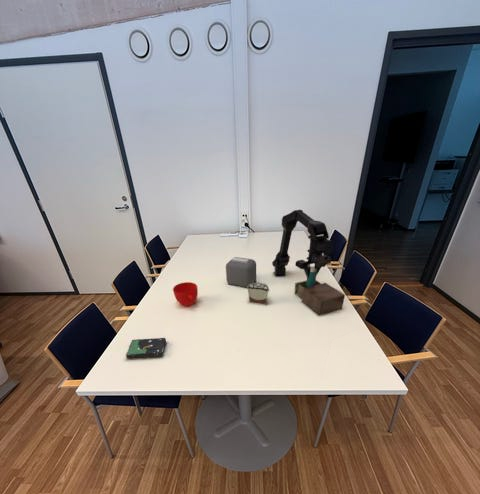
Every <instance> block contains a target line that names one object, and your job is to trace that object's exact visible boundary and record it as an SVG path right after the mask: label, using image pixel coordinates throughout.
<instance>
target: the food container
mask: <svg viewBox="0 0 480 494" xmlns="http://www.w3.org/2000/svg"><path fill="white" fill-rule="evenodd" d="M246 290H247V293H248V301H249V303H250V304H258V305H265V306H266V305H267V302H268V296H269V292H270V287H269V285H268V284H267V283H265V282H264V283H263V282H253V283H252V284H249V285H248V287H246Z"/></svg>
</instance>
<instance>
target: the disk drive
mask: <svg viewBox="0 0 480 494" xmlns="http://www.w3.org/2000/svg"><path fill="white" fill-rule="evenodd" d="M166 344H167V339H166V337H156V338H141V339H140V338H137V339H132V340H131V342H130V343H129V345H128V349H127V351H126V354H125V357H126V360H132V359H133V360H135V359H151V358H161V357H163V355H164V351H165V348H166Z"/></svg>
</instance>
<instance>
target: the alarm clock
mask: <svg viewBox="0 0 480 494" xmlns="http://www.w3.org/2000/svg"><path fill="white" fill-rule="evenodd" d="M225 274H226V275H225V277H226V278H225V279H226V282H227V284H229V285H233V286H238V287H244V288H247V287H248V285H249V284H252V283H255V281H256V280H257V262H256V260H254V259H252V258H246V257H237V256H235V257H233V258H231V259H230V260H229V261H228V262H227V263H226V264H225Z"/></svg>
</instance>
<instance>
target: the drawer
mask: <svg viewBox="0 0 480 494" xmlns="http://www.w3.org/2000/svg"><path fill="white" fill-rule="evenodd" d="M306 281H307V279H306V280H302V281H297V282H294V289H293V294H294V295H297V296H298V297H300V298H301V299H302V295H303V288H306V287H308V286H306ZM319 284H322V283H321V282H320V281H319V280H317V279H316V282H315V285H319Z"/></svg>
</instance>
